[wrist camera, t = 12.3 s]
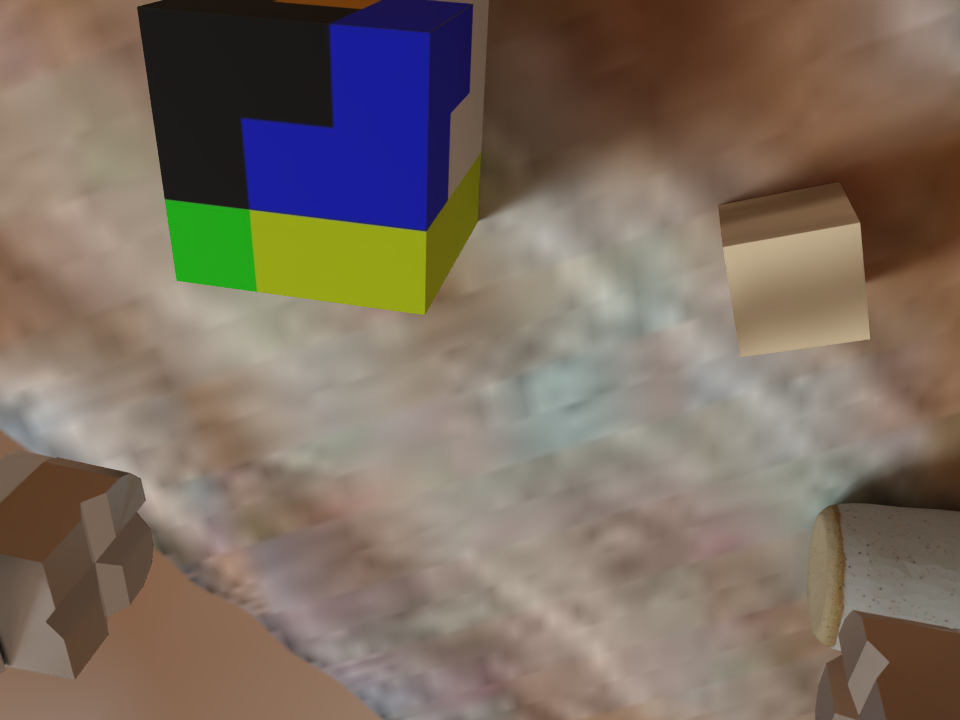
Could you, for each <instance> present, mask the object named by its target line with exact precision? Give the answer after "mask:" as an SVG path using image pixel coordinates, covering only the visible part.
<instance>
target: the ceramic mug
mask: <svg viewBox="0 0 960 720" xmlns="http://www.w3.org/2000/svg"><path fill="white" fill-rule="evenodd" d="M852 610H856V611H861V612H867V613H872V614H878V615H883V616H889V617H894V618H900V619H905V620H911V621H916V622H922V623H927V624H933V625H938V626H944V627H948V628H950V629H953V628H957V629H960V512H958V511H949V510H939V509H925V508H909V507H894V506H886V505H878V504H864V503H847V504H836V505H831V506H828V507H827V508H825V509H823V511H822V512H821V513H820V514H819V515H818V516H817V518H816V521H815V525H814V528H813V533H812V538H811V545H810V554H809V564H808V612H809V618H810V623H811V628H812V631H813V633H814V634H815V636H816V637H817V638H818V639H819V640H820V642H821V643H822V644H824V645H826V646H828V647H830V648H832V649H836V650H839V651H841V647H840V642H839V637H838V634H839V631H840V629H841V627H842V625H843V622H844V620H845V618H846V617H847V616H848V615H849V614H850V613H851V611H852Z"/></svg>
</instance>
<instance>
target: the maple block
mask: <svg viewBox="0 0 960 720" xmlns="http://www.w3.org/2000/svg"><path fill="white" fill-rule="evenodd" d="M718 208H719V217H720V226H721V235H722V243H723V251H724V257H725V263H726V269H727V276H728V282H729V288H730V294H731V300H732V307H733V313H734V319H735V325H736V331H737V338H738V344H739V350H740V356H741V357H745V356H752V355H760V354H767V353H774V352H781V351H788V350H795V349H802V348H809V347H817V346H824V345H831V344H838V343H845V342H852V341H859V340H866V339H870V333H869V321H868V309H867V297H866V285H865V274H864V262H863V250H862V238H861V226H860V221H859V219H858V217H857V215H856V213H855V211H854V210H853V208H852V206H851V204H850V202H849V200H848V198H847V196H846V194H845V192H844V190H843V188H842V186H841V184H840V182H836V183H831V184H826V185H820V186H815V187H810V188H805V189H800V190H795V191H789V192H784V193H779V194H774V195H769V196H763V197H758V198H753V199H748V200H743V201H738V202H732V203H727V204H722V205H718Z"/></svg>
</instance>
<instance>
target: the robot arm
mask: <svg viewBox="0 0 960 720" xmlns="http://www.w3.org/2000/svg"><path fill="white" fill-rule="evenodd" d="M145 501H146V499H145V495H144V490H143V486H142V482H141V478H139V477H137V476H135V475H133V474H131V473H127V472H123V471H118V470H114V469H109V468H104V467H100V466H95V465H90V464H86V463H81V462H77V461H72V460H67V459H63V458H58V457H57V458H53V457H49V456H44V455H40V454H36V453H31V452H27V451H22V450H19V451H15V452H12V453H8V454H5V455H4V456H3V457H2V458H1V459H0V674H1V673H2V672H4V671H5V670H6V668H5V666H7V667H12V668H17V669H22V670H28V671H33V672H38V673H43V674H48V675H53V676H58V677H63V678H68V679H73V680H75V679H76V678H77V676H78V675H79V673H80V672H81V671H82V670H83V668H84V667H85V665H86V664H87V663H88V661H89V660H90V659H91V657H92V656H93V655H94V653H95V652H96V651H97V649H98V648H99V646H100V645H101V644H102V642H103V641H104V640H105V639H106V637H107V636H108V635H109V633H108V620H107V617H108V616H110V615H112V614H114V613H116V612H118V611H120V610H122V609H124V608H126V607H127V606H129V605H131V603H132V602H133V600H134V599H135V597H136V596H137V595H138V593H139V592H140V590H141V589H142V587H143V585H144V583H145V580H146V578H147V575H148V572H149V570H150V567H151V564H152V558H153V546H154V544H153V538H152V531H151V528H150V527H149V526H148V525H147V523H146V522H145V521H144V520H143V519H142V518H141V516H140V515H139V514H138V513H137V511H138V509H139V508H140V507H141V506H142V504H143V503H144V502H145ZM838 637H839V642H840V647H841V653H842V655H840V656H839V657H837V658H835V659H833V660H831V661H829V662H828V663H826V666H825V669H824V671H823V674H822V677H821V680H820V683H819V686H818V693H817V700H816V707H815V720H960V629H957V628H953V629H950V628H948V627H944V626H938V625H933V624H927V623H922V622H916V621H911V620H905V619H900V618H894V617H889V616H883V615H878V614H872V613H867V612H861V611H856V610H852V611H851V613H850V614H849V615H848V616H847V617H846V618H845V620H844V622H843V625H842V627H841V629H840V631H839V634H838Z"/></svg>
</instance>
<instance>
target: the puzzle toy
mask: <svg viewBox="0 0 960 720" xmlns="http://www.w3.org/2000/svg"><path fill="white" fill-rule="evenodd" d="M137 10H138V16H139V23H140V30H141V37H142V44H143V51H144V58H145V65H146V72H147V79H148V86H149V93H150V100H151V107H152V113H153V120H154V127H155V134H156V141H157V148H158V155H159V162H160V169H161V176H162V183H163V190H164V197H165V204H166V210H167V217H168V224H169V231H170V238H171V245H172V252H173V259H174V266H175V273H176V280H177V281H183V282H190V283H197V284H204V285H212V286H219V287H226V288H233V289H241V290H248V291H255V292H262V293H270V294H277V295H284V296H291V297H299V298H306V299H313V300H320V301H328V302H335V303H342V304H349V305H357V306H364V307H371V308H378V309H386V310H393V311H400V312H407V313H415V314H422V315H425V314H426V312H427V310H428V309H429V307H430V305H431V303H432V302H433V300H434V298H435V296H436V294H437V293H438V291H439V289H440V287H441V286H442V284H443V282H444V280H445V279H446V277H447V275H448V273H449V272H450V270H451V268H452V266H453V265H454V263H455V261H456V259H457V257H458V256H459V254H460V252H461V250H462V249H463V247H464V245H465V243H466V242H467V240H468V238H469V236H470V235H471V233H472V231H473V229H474V228H475V226H476V224H477V222H478V210H479V190H480V170H481V150H482V131H483V111H484V91H485V71H486V51H487V31H488V12H489V0H162V1H158V2H154V3H150V4H146V5H142V6H138V7H137Z"/></svg>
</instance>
